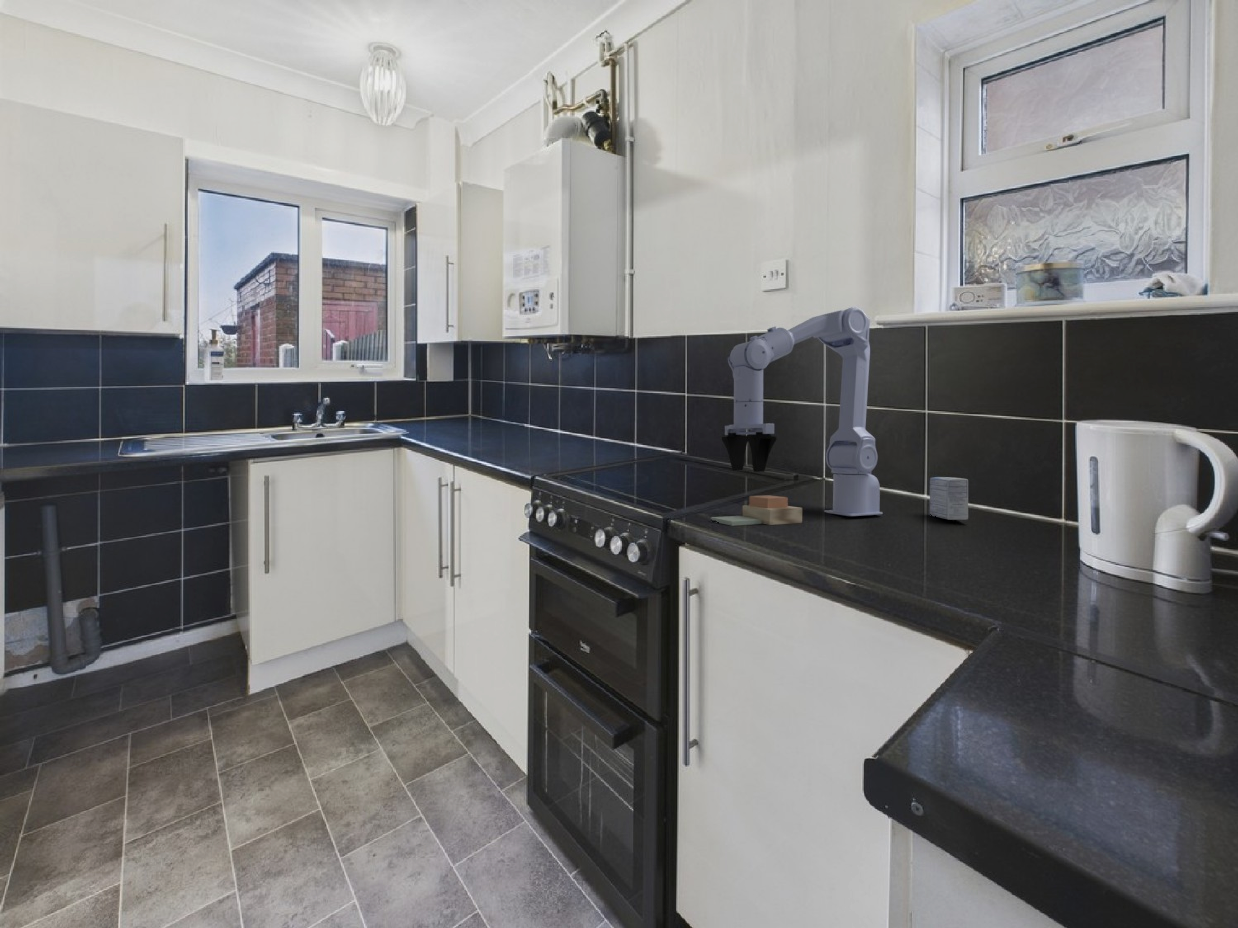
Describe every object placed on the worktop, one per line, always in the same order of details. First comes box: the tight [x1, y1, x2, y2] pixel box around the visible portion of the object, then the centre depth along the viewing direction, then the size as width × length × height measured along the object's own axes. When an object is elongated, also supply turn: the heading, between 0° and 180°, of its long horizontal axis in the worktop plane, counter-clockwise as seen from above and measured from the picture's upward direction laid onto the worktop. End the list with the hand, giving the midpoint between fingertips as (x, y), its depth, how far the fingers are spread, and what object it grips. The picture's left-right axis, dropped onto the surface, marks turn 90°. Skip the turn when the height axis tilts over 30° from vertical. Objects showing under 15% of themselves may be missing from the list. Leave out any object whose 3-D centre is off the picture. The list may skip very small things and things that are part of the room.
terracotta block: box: [748, 494, 789, 508], centre depth 125 cm, size 5×6×2 cm
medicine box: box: [929, 476, 969, 521], centre depth 131 cm, size 8×4×9 cm, turn 179°
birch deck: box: [742, 504, 803, 526], centre depth 124 cm, size 8×9×3 cm
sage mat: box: [710, 515, 763, 527], centre depth 122 cm, size 7×8×1 cm
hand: (748, 470), depth 121 cm, fingers open, 7 cm apart
